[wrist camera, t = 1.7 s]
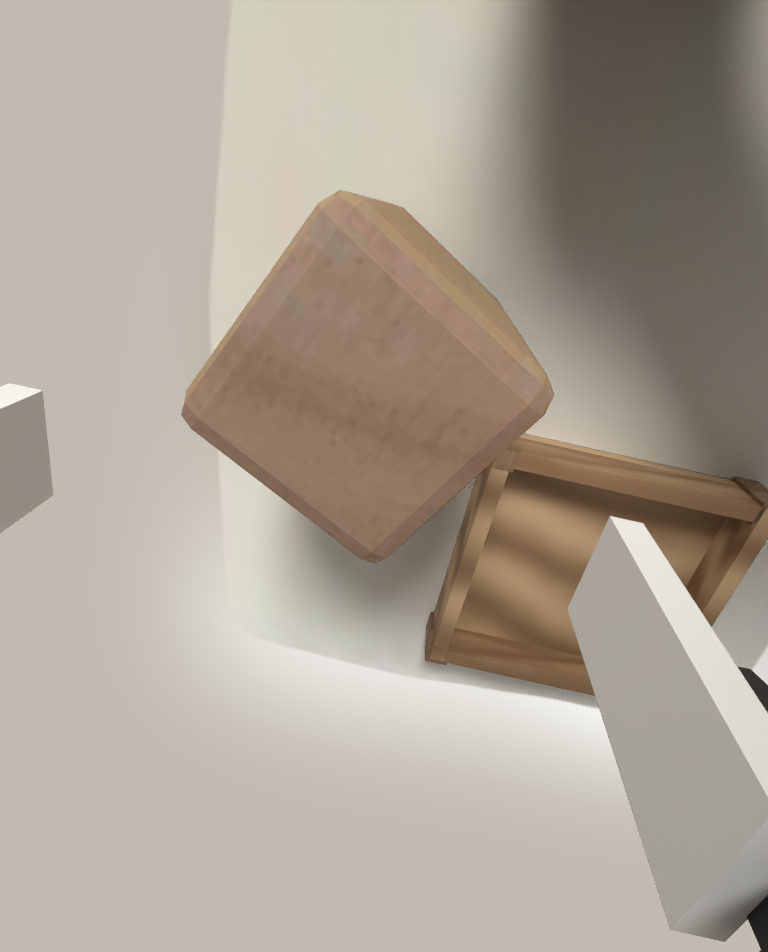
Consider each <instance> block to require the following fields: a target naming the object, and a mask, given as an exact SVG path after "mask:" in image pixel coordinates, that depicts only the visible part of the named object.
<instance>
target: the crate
mask: <svg viewBox="0 0 768 952" xmlns="http://www.w3.org/2000/svg"><path fill="white" fill-rule="evenodd" d="M610 516H613V517H617V518H622V519H626V520H631V521H635V522H640V523H643V524H644V526H645V527H646V529H647V530H648V532H649V533H650V535H651V536H652V538H653V539H654V541H655V542H656V544H657V545H658V547H659V548H660V550H661V551H662V553H663V554H664V556H665V558H666V559H667V561H668V562H669V564H670V565H671V567H672V568H673V570H674V571H675V573H676V574H677V576H678V577H679V579H680V580H681V582H682V583H683V585H684V586H685V588H686V589H687V591H688V593H689V594H690V596H691V597H692V599H693V600H694V602H695V603H696V605H697V606H698V608H699V609H700V611H701V612H702V614H703V615H704V617H705V618H706V620H707V621H708V623H709V624H710V626H711V627H712V625H713V624H714V622H715V621H716V619H717V617H718V616H719V614H720V613H721V611H722V610H723V608H724V606H725V605H726V603H727V602H728V600H729V599H730V597H731V595H732V594H733V592H734V591H735V589H736V588H737V586H738V584H739V583H740V581H741V580H742V578H743V577H744V575H745V573H746V572H747V570H748V569H749V567H750V566H751V564H752V562H753V561H754V559H755V558H756V556H757V555H758V553H759V551H760V550H761V548H762V547H763V545H764V544H765V542H766V540H767V539H768V489H766V488H765V487H764V486H763V485H762V484H760V483H759V482H756V481H751V480H747V479H742V478H738V477H734V479H733V480H729V479H724V478H720V477H716V476H711V475H707V474H702V473H698V472H693V471H689V470H684V469H680V468H675V467H671V466H666V465H662V464H657V463H653V462H649V461H644V460H640V459H635V458H631V457H626V456H622V455H617V454H613V453H608V452H604V451H599V450H595V449H591V448H586V447H582V446H577V445H573V444H568V443H564V442H559V441H555V440H550V439H546V438H541V437H537V436H532V435H528V434H524V433H523V434H522V435H521V436H520V437H519V438H518V439H517V440H516V441H515V442H514V443H512V444H511V445H510V446H509V447H508V448H507V449H506V450H505V451H504V452H503V453H501V454H500V455H499V456H498V457H497V458H496V459H495V460H494V461H493V462H492V463H490V464H489V465H488V466H487V467H486V468H485V469H484V470H483V471H482V472H481V473H479V474H478V475H477V478H476V481H475V484H474V488H473V491H472V494H471V497H470V500H469V504H468V507H467V510H466V513H465V516H464V519H463V523H462V526H461V529H460V532H459V535H458V539H457V542H456V545H455V548H454V551H453V554H452V558H451V561H450V564H449V567H448V570H447V574H446V577H445V580H444V583H443V586H442V589H441V593H440V596H439V599H438V602H437V605H436V609H435V612H431V613H430V616H429V620H428V623H427V626H426V646H425V660H426V661H430V662H435V663H439V664H444V665H446V664H447V663H452V664H456V665H460V666H465V667H469V668H474V669H478V670H483V671H487V672H492V673H496V674H501V675H505V676H509V677H514V678H518V679H523V680H527V681H532V682H536V683H541V684H545V685H550V686H554V687H558V688H563V689H567V690H572V691H576V692H581V693H585V694H590V695H594V696H595V694H594V690H593V687H592V684H591V681H590V678H589V675H588V672H587V669H586V665H585V662H584V659H583V656H582V653H581V650H580V647H579V644H578V640H577V637H576V634H575V631H574V628H573V625H572V622H571V619H570V616H569V612H568V609H567V608H568V606H569V604H570V602H571V600H572V598H573V595H574V593H575V591H576V589H577V587H578V584H579V582H580V580H581V578H582V576H583V573H584V571H585V569H586V567H587V565H588V562H589V560H590V558H591V556H592V554H593V552H594V549H595V547H596V545H597V543H598V541H599V538H600V536H601V534H602V532H603V530H604V527H605V525H606V523H607V521H608V519H609V517H610Z"/></svg>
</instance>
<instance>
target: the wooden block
mask: <svg viewBox="0 0 768 952" xmlns="http://www.w3.org/2000/svg"><path fill="white" fill-rule="evenodd" d="M553 396H554V392H553V390H552V387H551V384H550V382H549V379H548V377H547V374H546V373H545V371H544V370H543V368H542V367H541V365H540V364H539V362H538V361H537V359H536V358H535V356H534V355H533V353H532V352H531V350H530V348H529V347H528V345H527V344H526V342H525V341H524V339H523V338H522V336H521V335H520V333H519V332H518V330H517V329H516V327H515V326H514V324H513V323H512V321H511V320H510V318H509V317H508V315H507V314H506V312H505V311H504V309H503V308H502V306H501V305H500V303H499V302H498V300H497V299H496V298H495V297H494V296H493V295H492V294H491V293H490V292H489V291H488V290H487V289H486V288H485V287H484V286H483V285H482V284H481V283H480V282H479V281H478V280H477V279H476V278H475V277H474V276H473V275H472V274H470V273H469V272H468V271H467V270H466V269H465V268H464V267H463V266H462V265H461V264H460V263H459V262H458V261H457V260H456V259H455V258H454V257H453V256H452V255H451V254H450V253H449V252H448V251H447V250H446V249H445V248H444V247H443V246H442V245H441V244H440V243H439V242H438V241H437V240H436V239H435V238H434V237H433V236H432V235H431V234H430V233H429V232H428V231H427V230H426V229H424V228H423V227H422V226H421V225H420V224H419V223H418V222H417V221H416V220H415V219H414V218H413V217H412V216H411V215H410V214H409V213H408V212H407V211H406V210H405V209H404V208H402V207H399V206H397V205H394V204H391V203H388V202H384V201H380V200H376V199H372V198H369V197H365V196H361V195H357V194H354V193H350V192H346V191H342V190H339V191H338V192H336V193H334V194H333V195H331V196H329V197H328V198H326V199H324V200H323V201H321V202H319V203H318V204H317V206H316V207H315V209H314V210H313V211H312V213H311V214H310V216H309V217H308V219H307V220H306V221H305V223H304V224H303V226H302V227H301V228H300V230H299V231H298V233H297V234H296V236H295V237H294V238H293V240H292V241H291V243H290V244H289V246H288V247H287V248H286V250H285V251H284V253H283V254H282V255H281V257H280V258H279V260H278V261H277V263H276V264H275V265H274V267H273V268H272V270H271V271H270V273H269V274H268V275H267V277H266V278H265V280H264V281H263V282H262V284H261V285H260V287H259V288H258V290H257V291H256V292H255V294H254V295H253V297H252V298H251V300H250V301H249V302H248V304H247V305H246V307H245V308H244V310H243V311H242V312H241V314H240V315H239V317H238V318H237V319H236V321H235V322H234V324H233V325H232V327H231V328H230V329H229V331H228V332H227V334H226V335H225V337H224V338H223V339H222V341H221V342H220V344H219V345H218V346H217V348H216V349H215V351H214V352H213V354H212V355H211V356H210V358H209V359H208V361H207V362H206V364H205V365H204V366H203V368H202V369H201V371H200V372H199V374H198V375H197V376H196V378H195V379H194V381H193V382H192V384H191V385H190V386H189V388H188V389H187V391H186V397H185V402H184V406H183V410H182V414H181V415H182V417H183V418H184V419H185V421H186V422H187V424H188V425H189V426H190V428H191V429H192V430H193V431H195V432H196V433H197V434H199V435H200V436H201V437H203V438H204V439H205V440H206V441H208V442H209V443H210V444H212V445H213V446H215V447H216V448H217V449H218V450H220V451H221V452H222V453H223V454H225V455H226V456H227V457H229V458H230V459H231V460H233V461H234V462H235V463H237V464H238V465H239V466H240V467H242V468H243V469H244V470H246V471H247V472H248V473H250V474H251V475H252V476H254V477H255V478H256V479H257V480H259V481H260V482H261V483H263V484H264V485H265V486H267V487H268V488H269V489H271V490H272V491H273V492H274V493H276V494H277V495H278V496H280V497H281V498H282V499H284V500H285V501H286V502H287V503H289V504H290V505H291V506H293V507H294V508H295V509H297V510H298V511H299V512H301V513H302V514H303V515H304V516H306V517H307V518H308V519H310V520H311V521H312V522H314V523H315V524H316V525H318V526H319V527H320V528H321V529H323V530H324V531H325V532H327V533H328V534H329V535H331V536H332V537H333V538H335V539H336V540H337V541H338V542H340V543H341V544H342V545H344V546H345V547H346V548H348V549H349V550H350V551H352V552H353V553H354V554H355V555H357V556H358V557H359V558H361V559H364V560H367V561H370V562H373V563H375V562H378V561H380V560H382V559H385V558H386V557H388V556H389V555H390V554H391V553H393V552H394V551H395V550H396V549H397V548H398V547H399V546H400V545H401V544H402V543H404V542H405V541H406V540H407V539H408V538H409V537H410V536H411V535H412V534H413V533H415V532H416V531H417V530H418V529H419V528H420V527H421V526H422V525H423V524H424V523H426V522H427V521H428V520H429V519H430V518H431V517H432V516H433V515H434V514H435V513H437V512H438V511H439V510H440V509H441V508H442V507H443V506H444V505H445V504H446V503H448V502H449V501H450V500H451V499H452V498H453V497H454V496H455V495H456V494H457V493H459V492H460V491H461V490H462V489H463V488H464V487H465V486H466V485H467V484H468V483H470V482H471V481H472V480H473V479H474V478H475V477H476V476H477V475H478V474H479V473H481V472H482V471H483V470H484V469H485V468H486V467H487V466H488V465H489V464H490V463H492V462H493V461H494V460H495V459H496V458H497V457H498V456H499V455H500V454H501V453H503V452H504V451H505V450H506V449H507V448H508V447H509V446H510V445H511V444H512V443H514V442H515V441H516V440H517V439H518V438H519V437H520V436H521V435H522V434H523V433H525V432H526V431H527V430H528V429H529V428H530V427H531V426H532V425H533V424H534V423H536V422H537V421H538V420H539V419H540V418H541V417H542V416H543V415H544V414H545V412H546V410H547V408H548V406H549V404H550V402H551V401H552V399H553Z"/></svg>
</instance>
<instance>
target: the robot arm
mask: <svg viewBox="0 0 768 952" xmlns="http://www.w3.org/2000/svg"><path fill="white" fill-rule="evenodd" d="M52 495H53V489H52V479H51V469H50V459H49V450H48V440H47V430H46V421H45V411H44V401H43V391H42V390H37V389H33V388H28V387H24V386H19V385H14V384H10V383H9V384H7V385H4V386H1V387H0V533H1V532H2V531H4V530H5V529H7V528H8V527H9V526H11V525H12V524H14V523H15V522H16V521H18V520H19V519H20V518H22V517H23V516H25V515H26V514H27V513H29V512H30V511H32V510H33V509H35V508H36V507H37V506H39V505H40V504H41V503H43V502H44V501H46V500H47V499H49V498H50V497H51V496H52ZM567 609H568V612H569V616H570V619H571V622H572V625H573V628H574V631H575V634H576V637H577V640H578V644H579V647H580V650H581V653H582V656H583V659H584V662H585V665H586V669H587V672H588V675H589V678H590V681H591V684H592V687H593V690H594V694H595V697H596V700H597V703H598V706H599V709H600V712H601V715H602V718H603V722H604V725H605V728H606V731H607V734H608V737H609V740H610V743H611V746H612V750H613V752H614V756H615V759H616V762H617V765H618V768H619V771H620V775H621V778H622V781H623V784H624V787H625V790H626V793H627V797H628V800H629V803H630V806H631V809H632V812H633V815H634V818H635V821H636V825H637V828H638V831H639V834H640V837H641V840H642V843H643V846H644V849H645V853H646V856H647V859H648V862H649V865H650V868H651V871H652V875H653V878H654V881H655V884H656V887H657V890H658V893H659V896H660V899H661V903H662V906H663V909H664V912H665V915H666V918H667V921H668V924H669V928H670V930H674V931H679V932H684V933H688V934H692V935H697V936H702V937H706V938H710V939H715V940H719V941H724V942H725V941H726V940H727V939H728V938H729V937H730V936H731V935H732V934H733V933H734V932H735V931H736V930H737V929H738V928H739V927H740V926H741V925H742V924H743V923H744V922H745V921H746V920H747V919H748V920H749V923H750V925H751V927H752V929H753V932H754V934H755V936H756V938H757V941H758V943H759V946H760V948H761V951H760V952H768V685H767V684H766V683H765V682H764V681H762V680H761V679H760V678H759V677H758V676H757V675H756V674H755V673H754V672H753V671H752V670H751V669H746V668H742V667H737V666H736V664H735V663H734V661H733V659H732V658H731V656H730V655H729V653H728V652H727V650H726V649H725V647H724V646H723V644H722V643H721V641H720V640H719V638H718V637H717V635H716V634H715V632H714V631H713V629H712V628H711V626H710V624H709V623H708V621H707V620H706V618H705V617H704V615H703V614H702V612H701V611H700V609H699V608H698V606H697V605H696V603H695V602H694V600H693V599H692V597H691V596H690V594H689V593H688V591H687V589H686V588H685V586H684V585H683V583H682V582H681V580H680V579H679V577H678V576H677V574H676V573H675V571H674V570H673V568H672V567H671V565H670V564H669V562H668V561H667V559H666V558H665V556H664V554H663V553H662V551H661V550H660V548H659V547H658V545H657V544H656V542H655V541H654V539H653V538H652V536H651V535H650V533H649V532H648V530H647V529H646V527H645V526H644V524H643V523H640V522H635V521H631V520H626V519H622V518H617V517H613V516H610V517H609V519H608V521H607V523H606V525H605V527H604V530H603V532H602V534H601V536H600V538H599V541H598V543H597V545H596V547H595V549H594V552H593V554H592V556H591V558H590V560H589V562H588V565H587V567H586V569H585V571H584V573H583V576H582V578H581V580H580V582H579V584H578V587H577V589H576V591H575V593H574V595H573V598H572V600H571V602H570V604H569V606H568V608H567Z"/></svg>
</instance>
